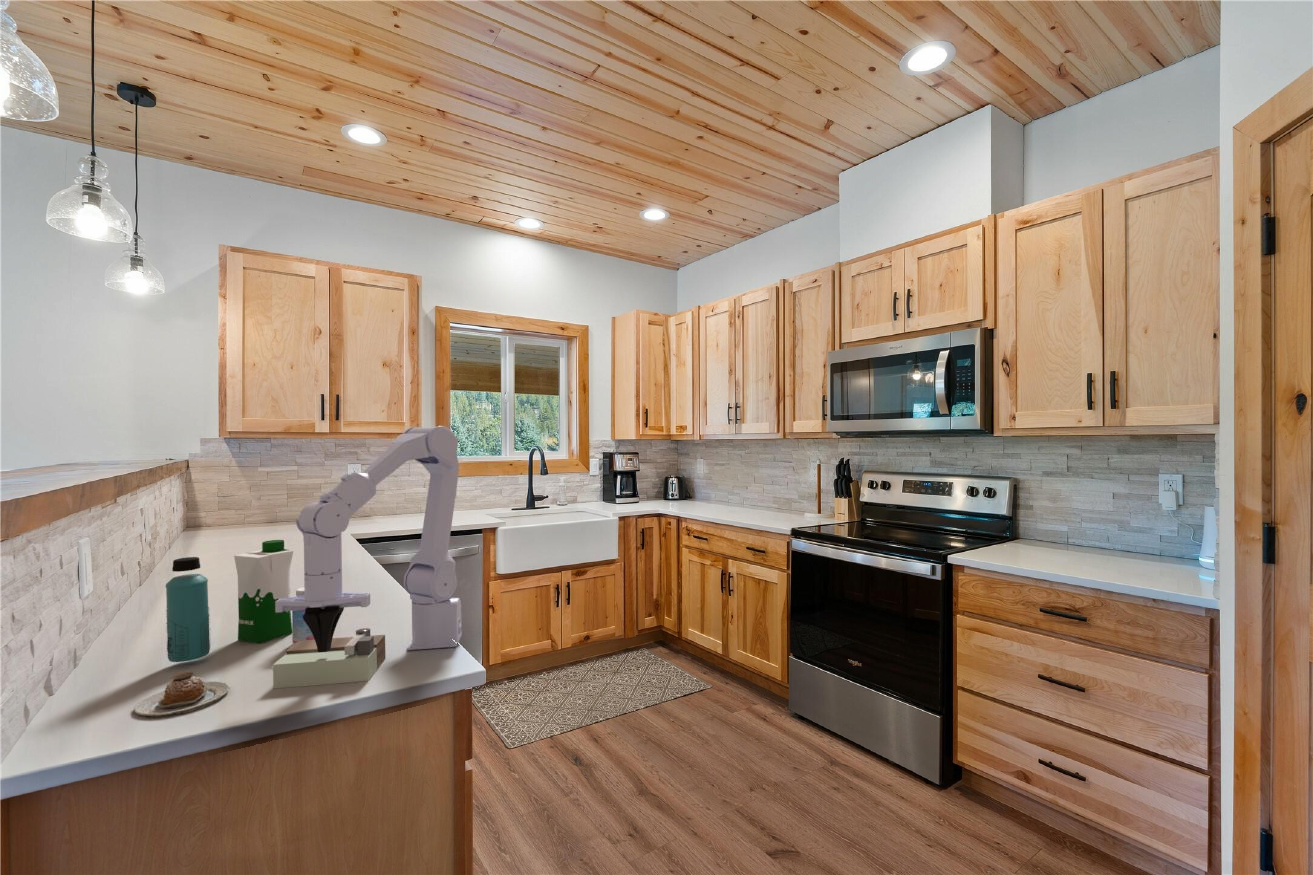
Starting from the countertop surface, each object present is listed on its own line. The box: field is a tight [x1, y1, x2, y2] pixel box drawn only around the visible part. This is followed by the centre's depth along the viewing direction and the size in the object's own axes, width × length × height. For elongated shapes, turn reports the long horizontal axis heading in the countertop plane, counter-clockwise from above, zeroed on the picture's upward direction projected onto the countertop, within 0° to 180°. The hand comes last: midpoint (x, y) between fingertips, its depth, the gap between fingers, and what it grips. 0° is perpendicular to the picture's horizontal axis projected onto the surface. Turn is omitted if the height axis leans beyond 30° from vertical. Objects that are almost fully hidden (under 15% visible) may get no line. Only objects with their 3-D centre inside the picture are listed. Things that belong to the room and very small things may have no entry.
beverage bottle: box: [165, 556, 212, 663], centre depth 112 cm, size 6×7×20 cm
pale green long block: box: [272, 635, 378, 689], centre depth 104 cm, size 15×5×6 cm, turn 100°
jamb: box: [285, 634, 386, 670], centre depth 109 cm, size 15×6×4 cm, turn 100°
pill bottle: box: [291, 586, 315, 646], centre depth 123 cm, size 6×6×11 cm
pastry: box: [133, 671, 231, 718], centre depth 96 cm, size 12×12×5 cm
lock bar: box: [345, 627, 371, 655], centre depth 106 cm, size 9×2×2 cm, turn 10°
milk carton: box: [233, 539, 294, 645], centre depth 127 cm, size 9×9×20 cm
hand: (324, 650), depth 103 cm, fingers closed
